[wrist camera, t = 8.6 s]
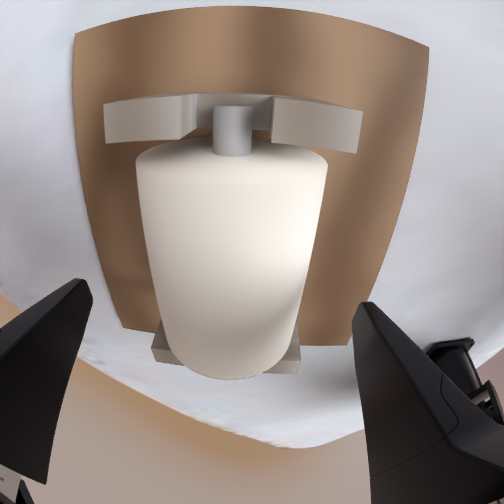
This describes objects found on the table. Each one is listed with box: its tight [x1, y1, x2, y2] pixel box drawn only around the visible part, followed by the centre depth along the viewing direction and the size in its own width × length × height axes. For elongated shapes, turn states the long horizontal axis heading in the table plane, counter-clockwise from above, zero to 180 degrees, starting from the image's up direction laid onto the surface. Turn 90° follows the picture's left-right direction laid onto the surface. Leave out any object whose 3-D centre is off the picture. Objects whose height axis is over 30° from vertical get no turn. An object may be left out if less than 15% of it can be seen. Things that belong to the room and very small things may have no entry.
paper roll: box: [135, 105, 328, 380], centre depth 11 cm, size 6×11×6 cm, turn 177°
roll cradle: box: [73, 6, 429, 374], centre depth 12 cm, size 17×20×6 cm
